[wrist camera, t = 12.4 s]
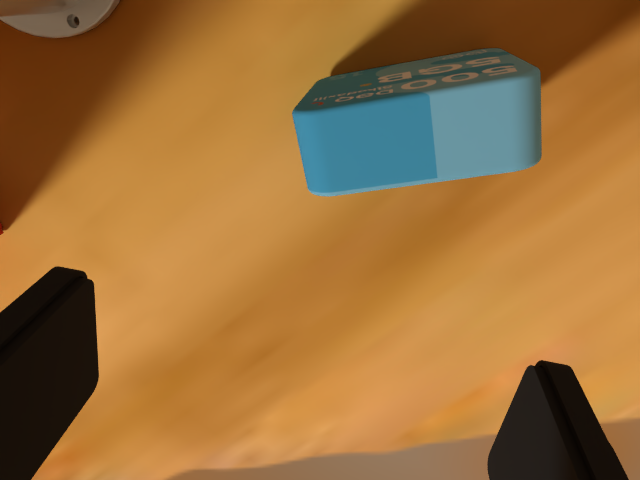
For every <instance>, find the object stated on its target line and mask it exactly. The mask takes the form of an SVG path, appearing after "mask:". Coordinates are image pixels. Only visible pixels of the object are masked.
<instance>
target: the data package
mask: <svg viewBox="0 0 640 480" xmlns="http://www.w3.org/2000/svg"><path fill="white" fill-rule="evenodd" d="M292 114H293V119H294V124H295V129H296V134H297V139H298V143H299V148H300V153H301V158H302V163H303V167H304V172H305V177H306V182H307V186H308V190H309V191H310V192H311V193H313V194H315V195H318V196H337V195H345V194H352V193H360V192H367V191H374V190H382V189H389V188H397V187H404V186H411V185H419V184H426V183H433V182H441V181H448V180H456V179H463V178H470V177H478V176H485V175H493V174H500V173H507V172H514V171H520V170H523V169H527V168H529V167H532V166H534V165H535V164H537V163H538V162H539V161H540V159H541V73H540V70H539V69H538V68H537V67H535V66H533V65H531V64H530V63H528V62H526V61H524V60H522V59H520V58H518V57H516V56H514V55H512V54H510V53H508V52H506V51H504V50H502V49H500V48H486V49H478V50H472V51H467V52H461V53H456V54H450V55H444V56H439V57H433V58H428V59H422V60H417V61H411V62H406V63H400V64H395V65H389V66H384V67H378V68H373V69H367V70H362V71H356V72H351V73H345V74H340V75H335V76H331V77H327V78H324V79H321V80H319V81H317V82H316V83H315V84H314V86H313V87H312V88H311V89H310V90H309V92H308V93H307V94H306V95H305V96H304V98H303V99H302V100H301V101H300V102H299V104H298V105H297V106H296V107H295V108H294V110H293V112H292Z"/></svg>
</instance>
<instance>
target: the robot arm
mask: <svg viewBox="0 0 640 480" xmlns="http://www.w3.org/2000/svg"><path fill="white" fill-rule="evenodd" d="M119 1H120V0H0V20H1V21H2V22H4V23H6V24H8V25H10V26H11V27H13V28H15V29H17V30H19V31H22V32H25V33H28V34H31V35H34V36H38V37H46V38H62V37H70V36H74V35H79V34H83V33H85V32H87V31H89V30H91V29H93V28H95V27H97V26H98V25H99V24H101V23H102V22H103V21H104V20H105V19H107V18H108V17H109V16H110V14H111V13H112V12H113V10H114V9H115V8H116V6H117V5H118V4H119ZM77 19H79V22H80V23H78V20H77ZM98 378H99V371H98V351H97V332H96V313H95V293H94V283H93V281H92V280H90V279H87V275H86V273H85V272H83V271H79V270H74V269H69V268H64V267H54V268H52V269H51V270H50V271H49V272H48V273H46V274H45V275H44V276H43V277H42V278H40V279H39V280H38V281H37V282H36V283H35V284H33V285H32V286H31V287H30V288H29V289H28V290H26V291H25V292H24V293H23V294H22V295H20V296H19V297H18V298H17V299H16V300H15V301H13V302H12V303H11V304H10V305H9V306H8V307H6V308H5V309H4V310H3V311H2V312H0V480H31V479H32V477H33V476H34V475H35V473H36V472H37V470H38V469H39V468H40V466H41V465H42V463H43V462H44V461H45V459H46V458H47V456H48V455H49V454H50V452H51V451H52V449H53V448H54V447H55V445H56V444H57V442H58V441H59V440H60V438H61V437H62V435H63V434H64V433H65V431H66V430H67V428H68V427H69V426H70V424H71V423H72V421H73V420H74V419H75V417H76V416H77V414H78V413H79V412H80V410H81V409H82V407H83V406H84V405H85V403H86V402H87V400H88V399H89V398H90V396H91V395H92V393H93V392H94V390H95V388H96V386H97V382H98ZM488 474H489V479H490V480H629V479H628V477H627V475H626V473H625V471H624V469H623V468H622V465H621V463H620V461H619V459H618V457H617V455H616V453H615V451H614V449H613V448H612V446H611V445H610V443H609V442H608V440H607V438H606V436H605V434H604V432H603V430H602V428H601V426H600V424H599V422H598V420H597V418H596V416H595V414H594V412H593V410H592V408H591V406H590V404H589V402H588V400H587V398H586V396H585V394H584V392H583V390H582V388H581V386H580V384H579V382H578V380H577V378H576V376H575V374H574V372H573V370H572V368H571V367H570V366H568V365H564V364H558V363H553V362H548V361H543V360H541V361H539V362H537V363H536V365H535V366H532V365H530V366H528V367H527V369H526V370H525V373H524V375H523V377H522V380H521V382H520V384H519V386H518V389H517V391H516V393H515V396H514V398H513V400H512V402H511V405H510V407H509V409H508V412H507V414H506V416H505V419H504V421H503V423H502V425H501V428H500V430H499V432H498V435H497V437H496V439H495V442H494V444H493V446H492V449H491V451H490V453H489V457H488Z"/></svg>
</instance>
